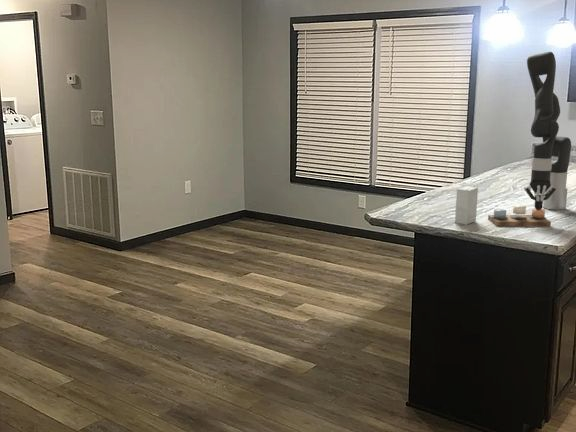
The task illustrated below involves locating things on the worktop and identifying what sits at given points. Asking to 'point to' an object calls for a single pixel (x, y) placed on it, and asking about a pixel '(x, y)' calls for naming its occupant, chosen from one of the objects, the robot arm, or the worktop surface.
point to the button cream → (519, 209)
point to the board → (519, 220)
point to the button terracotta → (538, 213)
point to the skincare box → (466, 205)
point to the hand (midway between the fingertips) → (538, 209)
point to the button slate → (499, 213)
